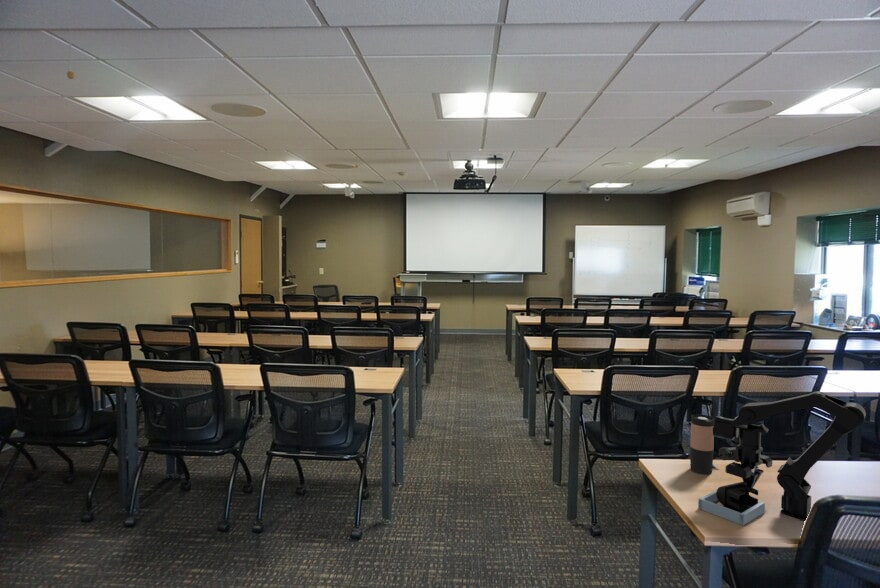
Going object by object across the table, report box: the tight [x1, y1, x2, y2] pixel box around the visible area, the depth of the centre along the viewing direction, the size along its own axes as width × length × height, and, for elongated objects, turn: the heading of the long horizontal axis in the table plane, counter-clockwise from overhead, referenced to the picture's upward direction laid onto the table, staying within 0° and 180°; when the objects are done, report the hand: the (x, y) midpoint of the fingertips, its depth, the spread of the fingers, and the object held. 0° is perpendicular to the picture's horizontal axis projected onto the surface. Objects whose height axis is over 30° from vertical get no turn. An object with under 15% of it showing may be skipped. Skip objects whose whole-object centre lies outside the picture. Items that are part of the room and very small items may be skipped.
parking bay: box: [697, 489, 766, 526], centre depth 154 cm, size 13×14×3 cm
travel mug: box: [689, 413, 715, 475], centre depth 185 cm, size 8×8×20 cm
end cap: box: [716, 481, 759, 513], centre depth 157 cm, size 10×7×7 cm
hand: (748, 491), depth 161 cm, fingers closed
